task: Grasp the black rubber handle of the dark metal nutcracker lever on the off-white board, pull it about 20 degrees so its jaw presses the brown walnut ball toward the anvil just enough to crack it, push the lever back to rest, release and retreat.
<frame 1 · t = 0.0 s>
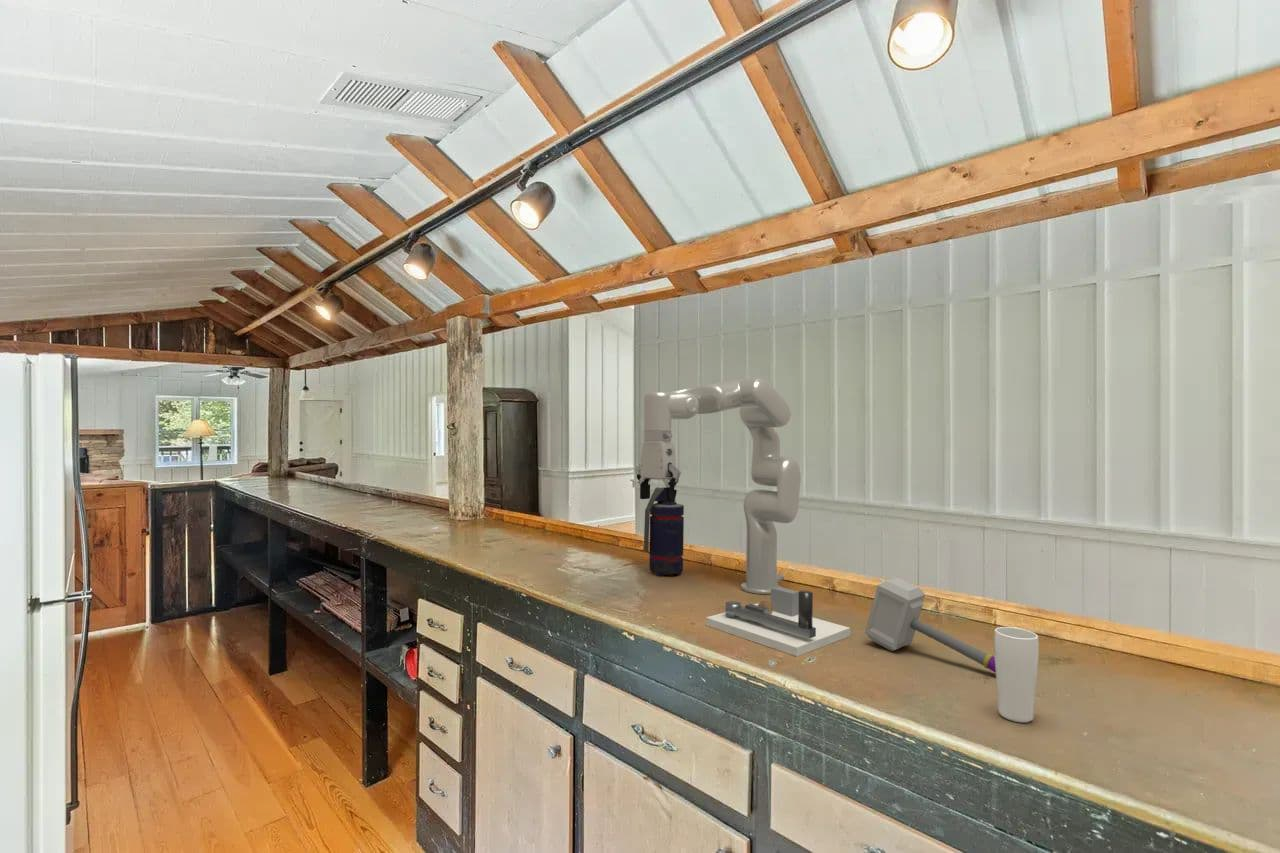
hand: (656, 500, 167), 31 cm above the worktop, fingers open, 9 cm apart
lever: (768, 603, 152), point 8 cm above the worktop, hinge at 0.0°
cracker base: (733, 624, 160), on the worktop
drinking glass: (1015, 718, 110), on the worktop
hammer: (938, 661, 136), on the worktop
grenade: (663, 574, 216), on the worktop
walnut: (765, 608, 159), point 4 cm above the worktop, slide at 0.0 cm
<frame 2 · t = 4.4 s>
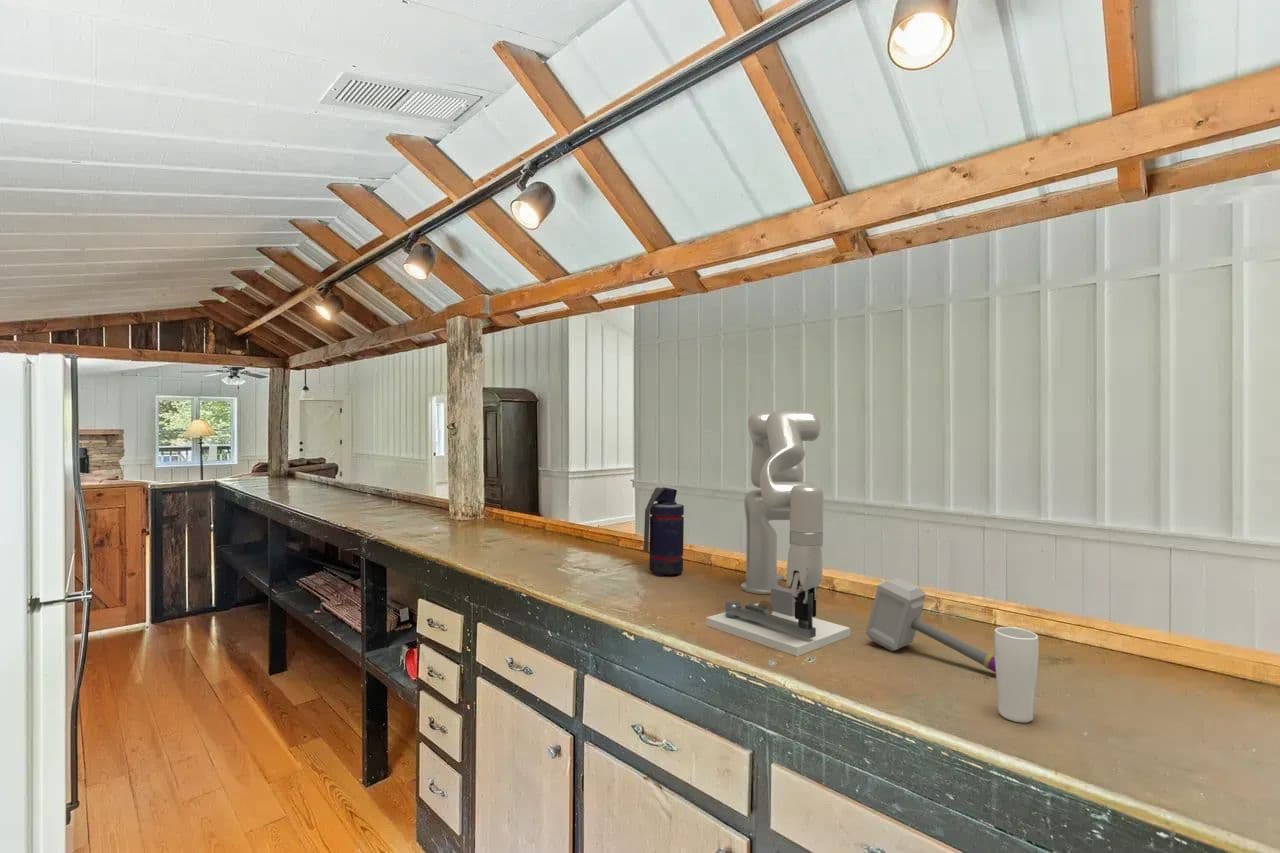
hand: (805, 616, 143), 7 cm above the worktop, fingers closed on lever, 3 cm apart
lever: (768, 603, 152), point 8 cm above the worktop, hinge at 0.0°, touching gripper
everything else where it was.
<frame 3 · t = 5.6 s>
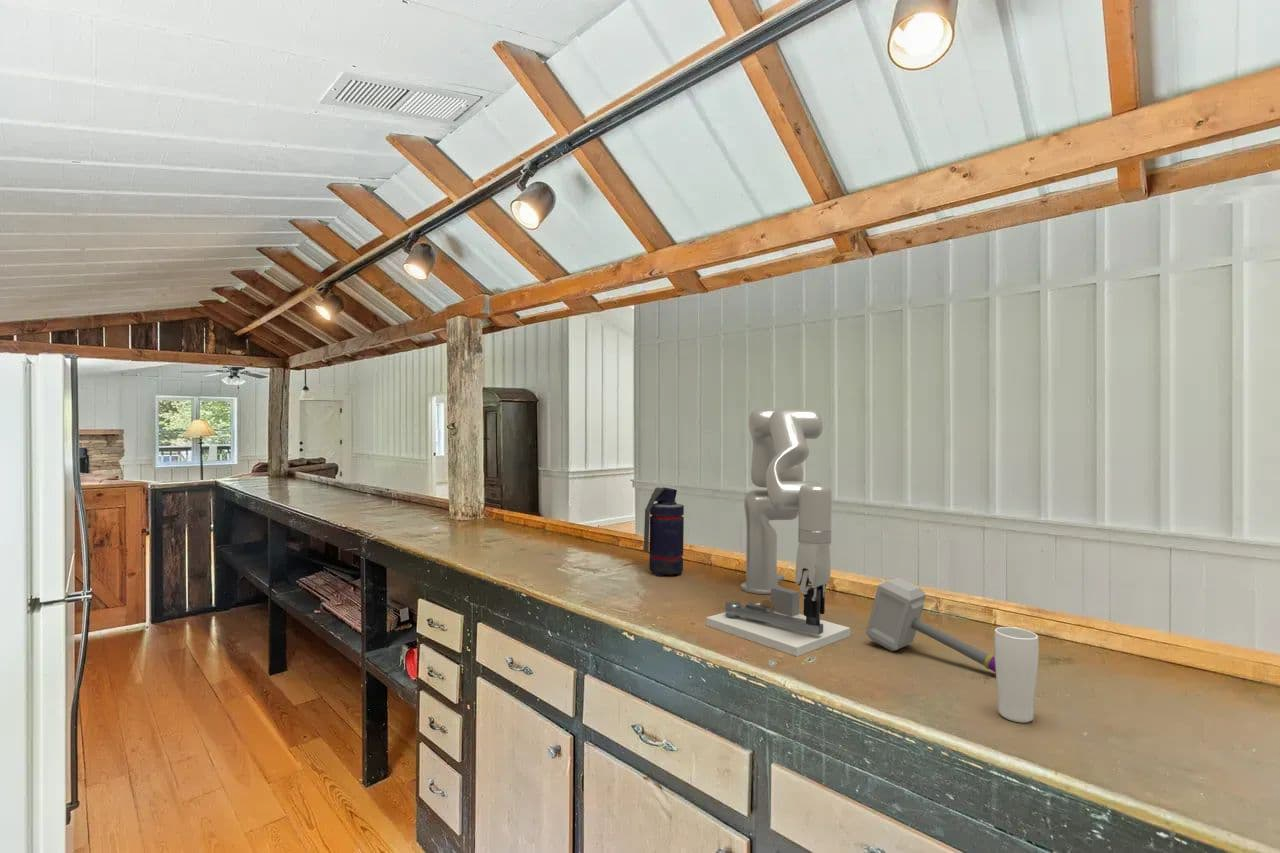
hand: (814, 614, 145), 7 cm above the worktop, fingers closed on lever, 3 cm apart
lever: (772, 602, 153), point 8 cm above the worktop, hinge at 9.1°, touching gripper, walnut
walnut: (766, 608, 159), point 4 cm above the worktop, slide at 0.7 cm, touching lever
everything else where it was.
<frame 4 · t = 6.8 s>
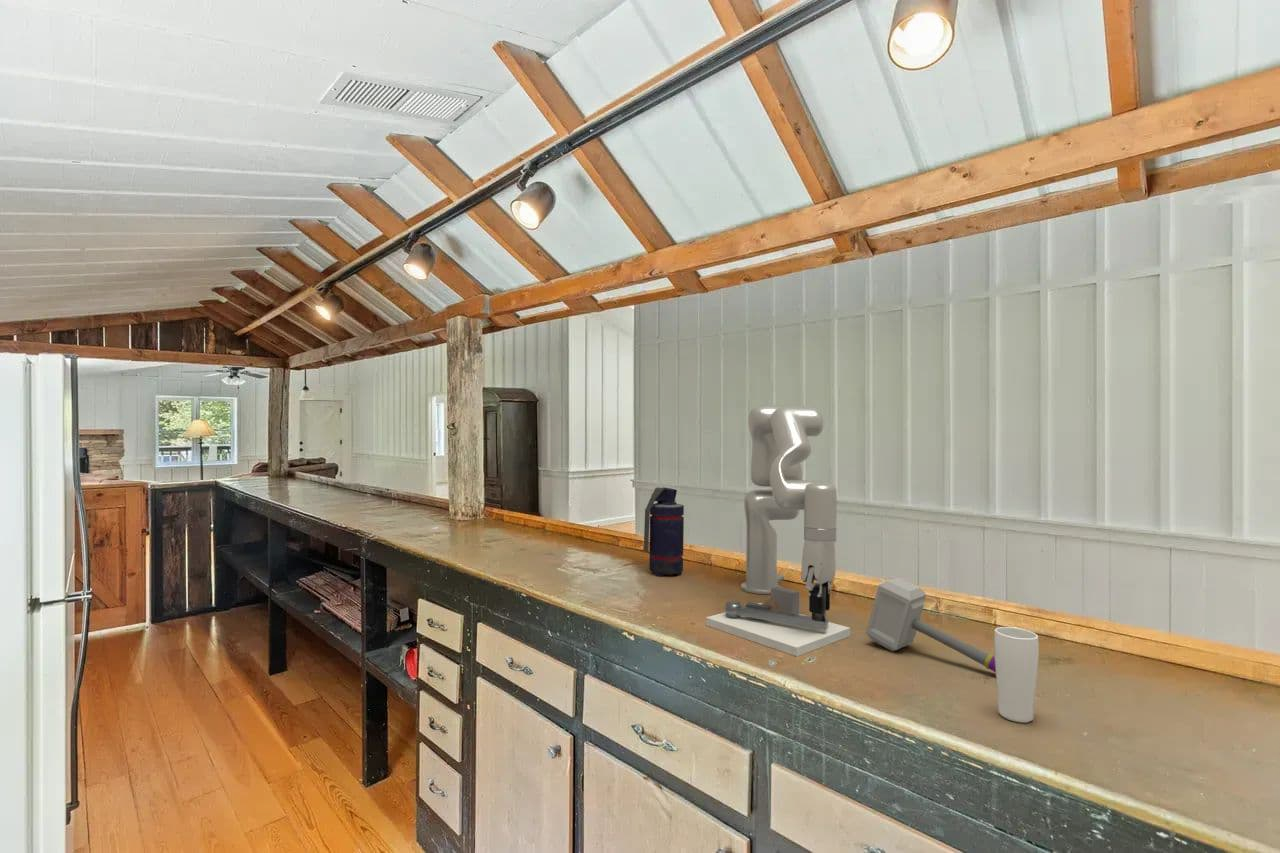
hand: (819, 610, 149), 7 cm above the worktop, fingers closed on lever, 3 cm apart
lever: (775, 600, 155), point 8 cm above the worktop, hinge at 19.0°, touching gripper
walnut: (770, 607, 160), point 4 cm above the worktop, slide at 2.1 cm
everything else where it was.
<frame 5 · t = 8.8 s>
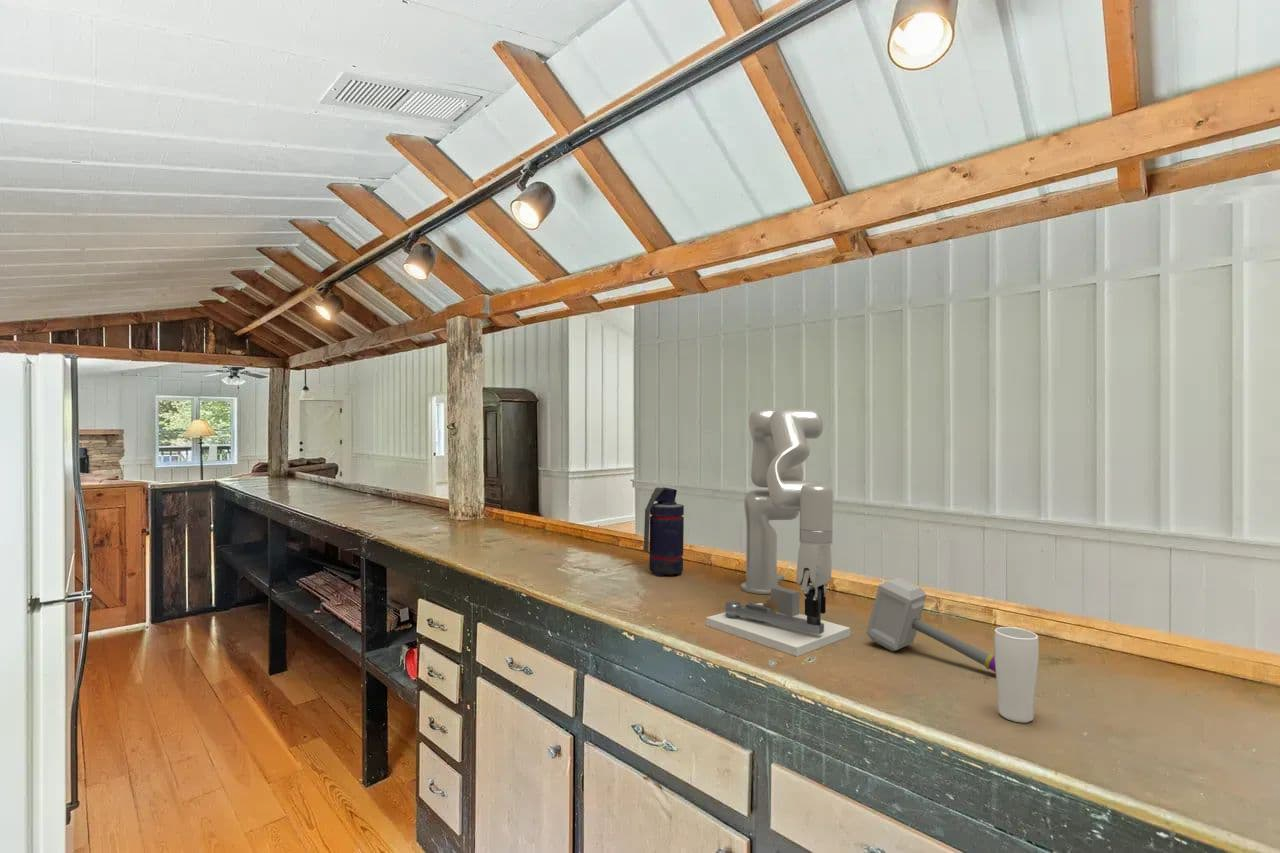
hand: (815, 613, 146), 7 cm above the worktop, fingers closed on lever, 3 cm apart
lever: (772, 602, 153), point 8 cm above the worktop, hinge at 10.2°, touching gripper
everything else where it was.
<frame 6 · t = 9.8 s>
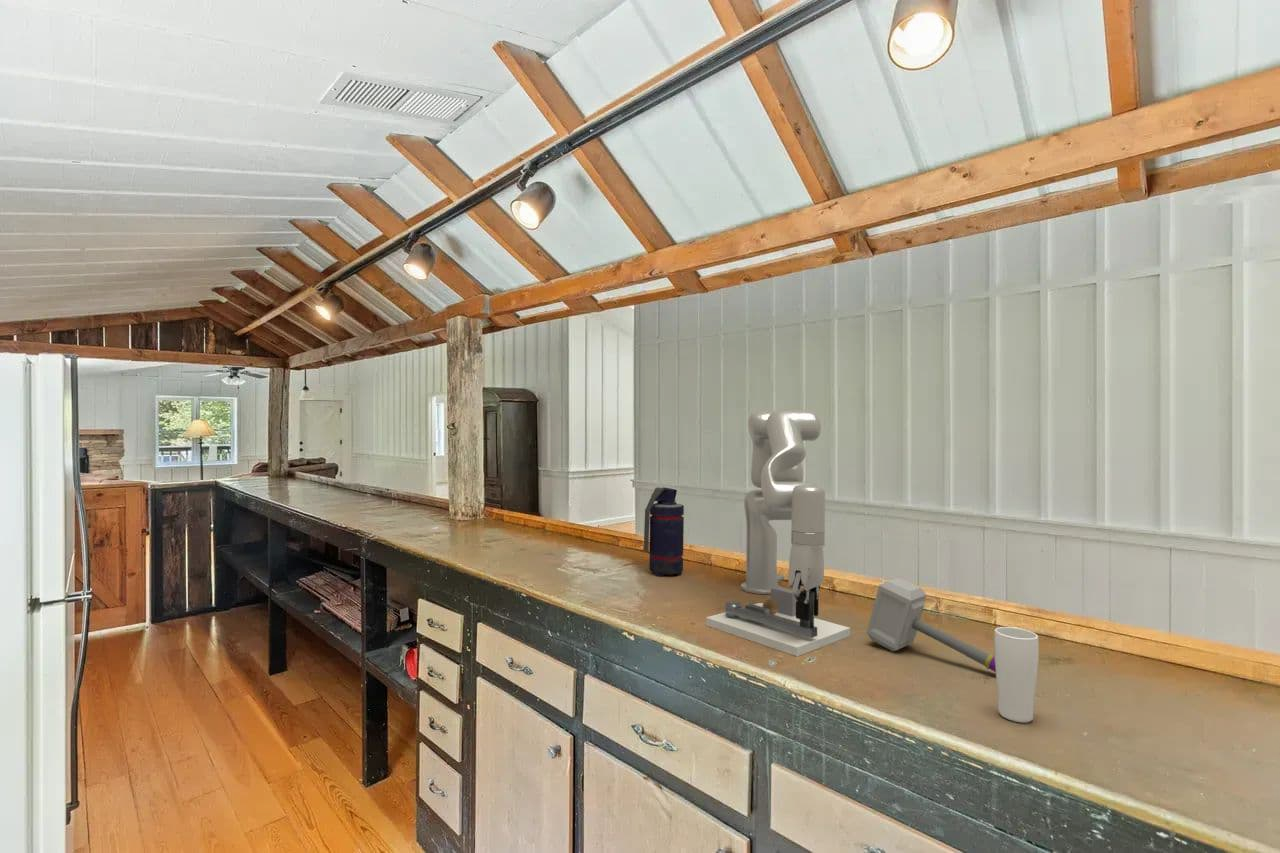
hand: (807, 616, 143), 7 cm above the worktop, fingers open, 4 cm apart
lever: (769, 603, 152), point 8 cm above the worktop, hinge at 1.6°
everything else where it was.
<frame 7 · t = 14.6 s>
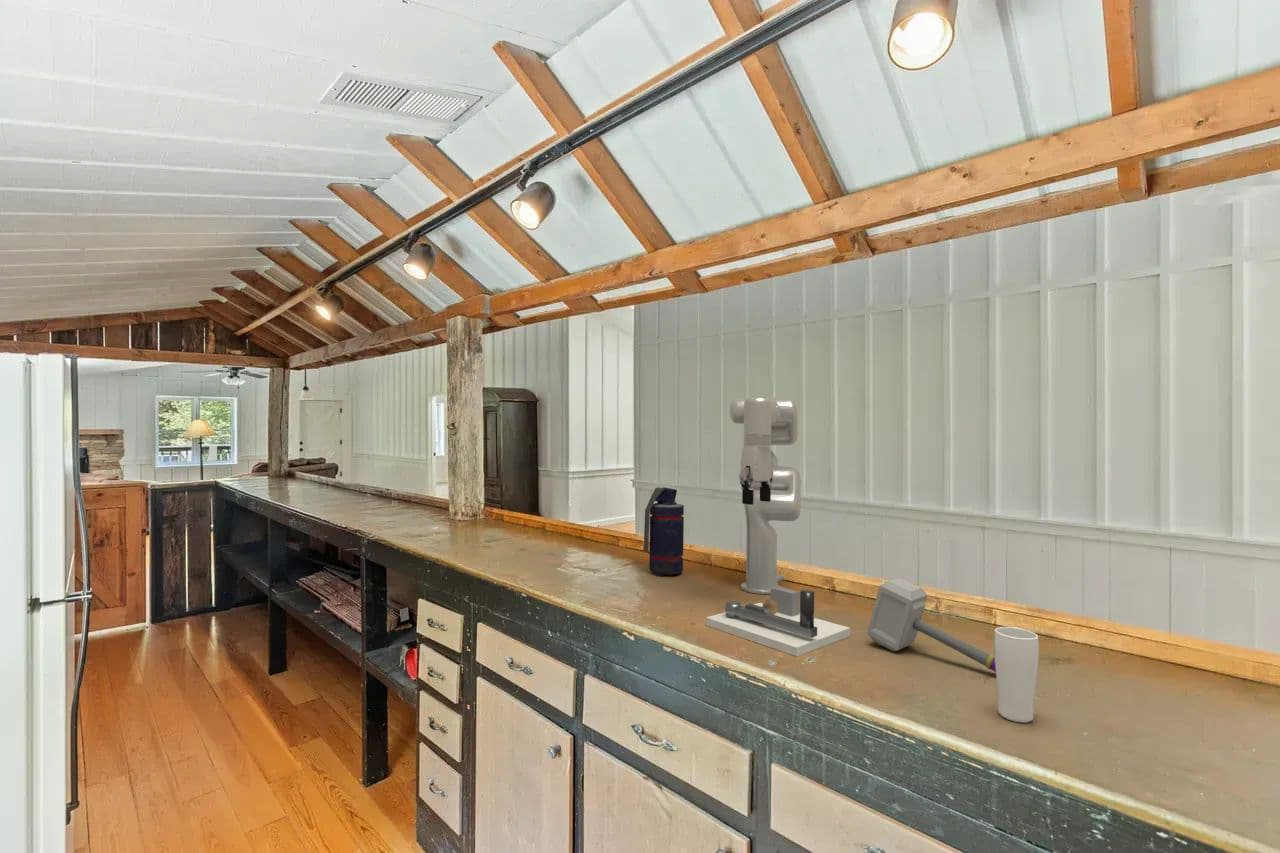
hand: (756, 502, 172), 30 cm above the worktop, fingers open, 9 cm apart
nothing on the worktop moved.
at the end: walnut slide at 2.2 cm; lever at +2° (first picture: +0°); the gripper is holding nothing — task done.
